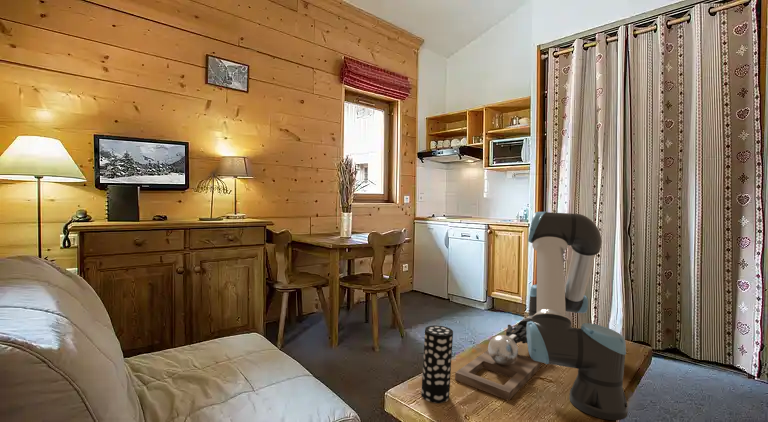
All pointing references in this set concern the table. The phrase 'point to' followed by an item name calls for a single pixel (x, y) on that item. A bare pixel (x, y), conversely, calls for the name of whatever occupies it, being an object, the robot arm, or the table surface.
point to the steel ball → (503, 349)
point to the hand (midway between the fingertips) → (507, 342)
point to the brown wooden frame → (517, 371)
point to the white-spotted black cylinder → (437, 364)
